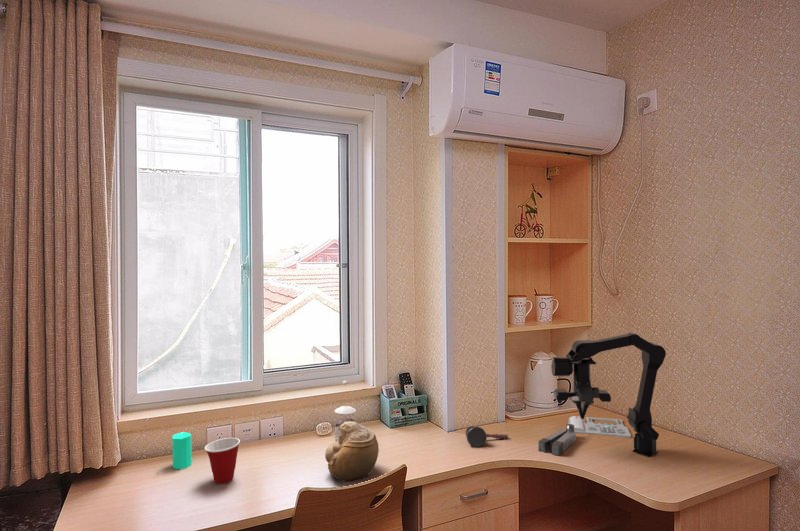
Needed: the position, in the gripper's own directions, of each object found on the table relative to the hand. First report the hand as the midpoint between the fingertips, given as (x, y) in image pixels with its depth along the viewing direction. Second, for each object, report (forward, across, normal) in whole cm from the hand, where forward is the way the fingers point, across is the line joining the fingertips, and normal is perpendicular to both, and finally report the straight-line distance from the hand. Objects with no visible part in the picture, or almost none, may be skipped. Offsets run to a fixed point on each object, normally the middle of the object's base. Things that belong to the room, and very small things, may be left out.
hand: (582, 418), depth 178 cm
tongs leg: (+12, -6, +3) cm, 13 cm away
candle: (+11, -139, -30) cm, 142 cm away
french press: (+12, -87, -6) cm, 88 cm away
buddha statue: (+12, -79, -29) cm, 85 cm away
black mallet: (+12, -34, +4) cm, 36 cm away
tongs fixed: (+12, -8, +6) cm, 15 cm away
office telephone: (+13, +12, +28) cm, 33 cm away
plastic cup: (+11, -119, -39) cm, 126 cm away
